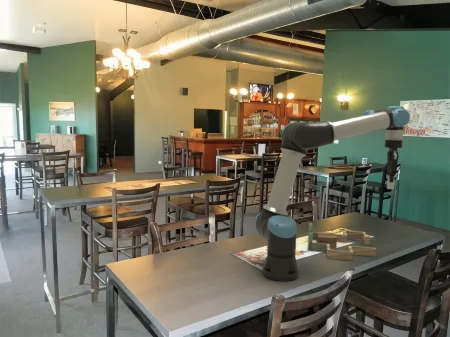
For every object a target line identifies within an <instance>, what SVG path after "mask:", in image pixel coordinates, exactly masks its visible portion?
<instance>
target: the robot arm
mask: <svg viewBox="0 0 450 337" xmlns="http://www.w3.org/2000/svg"><path fill="white" fill-rule="evenodd" d="M410 119H411V114H410V112H409V111H408V110H407V109H406V108H405V107H404V106H403V105H396V106H395V105H392V106H390V105H389V106H388V107H387V109H367V110H365V111H364V112H363V114H362V115H361V116H356V117H351V118H347V119H346V118H345V119H342V120H337V121H333V122H331V121H328V120H326V121H321V122H320V121H317V122H313V121H312V122H311V121H310V122H309V121H307V122H306V121H304V122H303V121H294V122H290V123H288V124H286V125H285V126H284V127H283V129H282V131H281V133H280V140H281V145H280V150H281V152H282V154H281V157H280V160H279V164H278V168H277V171H276V173H275V177H274V181H273V184H272V188H271V190H270V194H269V198H268V200H267V203H266V204H265V205H263V206H262V208H261V211H260V213H258V214H257V215H256V218H255V221H254V226H255V229H256V232H257V233H258V234H259V235H260V236H261V237H262V238H263V239H264V240H265V241H266V242H267V243H266V244H267V245H266V250H267V252H266V257H265V260H264V263H263V265H262V275H263V276H264V277H265V278H267V279H270V280H273V281H277V282H289V281H294V280H296V279H298V278H299V276H300V269H299V268H300V267H299V265H298V262H297V258H296V251H297V250H296V248H297V232H298V228H297V222H296V221H295V219H293V218H291V217H289V215H288V214H289V213H288V211H287V208H288V204H289V200H290V197H291V194H292V190H293V187H294V184H295V181H296V177H297V174H298V171H299V167H300V164H301V160H302V159H303V158H304V157H306V156H307V154H308V151H309V150H314V149H317V148H322V147H325V146H328V145H332V144H333V143H334V142H335V141H338V140H342V139H343V140H344V139H346V138H350V137H351V138H352V137H356V136H360V135H364V134H369V133H373V132H377V131H378V132H379V131H382V130H385V132H384V133H385V135H384V136H385V141H384V147H385V148H387V149H388V151H387V153H386V156H387V159H386V160H387V161H386V165H387V166H386V167H387V168H386V173H387V174H386V176H387V183H386V189H387V190H395V188H394V187H395V178H396V177H395V176H396V175H397V170H398V161H399V152H398V149H402V148H403V142H404V141H403V140H402V139H403V137H404V135H405V132H404V127H405V126H407V125H408V124H409V123H410Z"/></svg>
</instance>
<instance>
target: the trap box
mask: <svg viewBox="0 0 450 337" xmlns="http://www.w3.org/2000/svg"><path fill="white" fill-rule="evenodd" d="M313 226H314V225H313V223H312V222H308V237H307V239H308V240H307V241H308V243H307V244H308V245H307V251H309V252H320V253H321V252H322V253H326V259H331V260H341V261H342V260H343V261H350V262H352V261H353V260H354V256H362V257H363V256H365V257H374V258H376V257H377V254H376V253H377V248H376V247H369V246H370V243H371V237H370V236H368V235H367V234H366V232H365V231H357V230H345V229H343V231H342V234H340V233H334V234H335V235H336V237H337V243H345V244H346V243H353V244H363V243H364V245H368V246H358V245H348V246H347V250H340V249H339V250H338V249H330V245H329V244H326V243H316V242H315V241H316V236H317V232H318V231H313V228H314V227H313ZM313 241H314V242H313ZM353 262H354V261H353Z"/></svg>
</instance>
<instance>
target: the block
mask: <svg viewBox="0 0 450 337" xmlns="http://www.w3.org/2000/svg"><path fill="white" fill-rule="evenodd" d="M316 232H317V236H316V240H315V243H326V244H329V245H330V250H337V244H338V242H337V237H336V235H335V234H336V233H335V232H327V231H326V232H325V231H322V232H321V231H316Z"/></svg>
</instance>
